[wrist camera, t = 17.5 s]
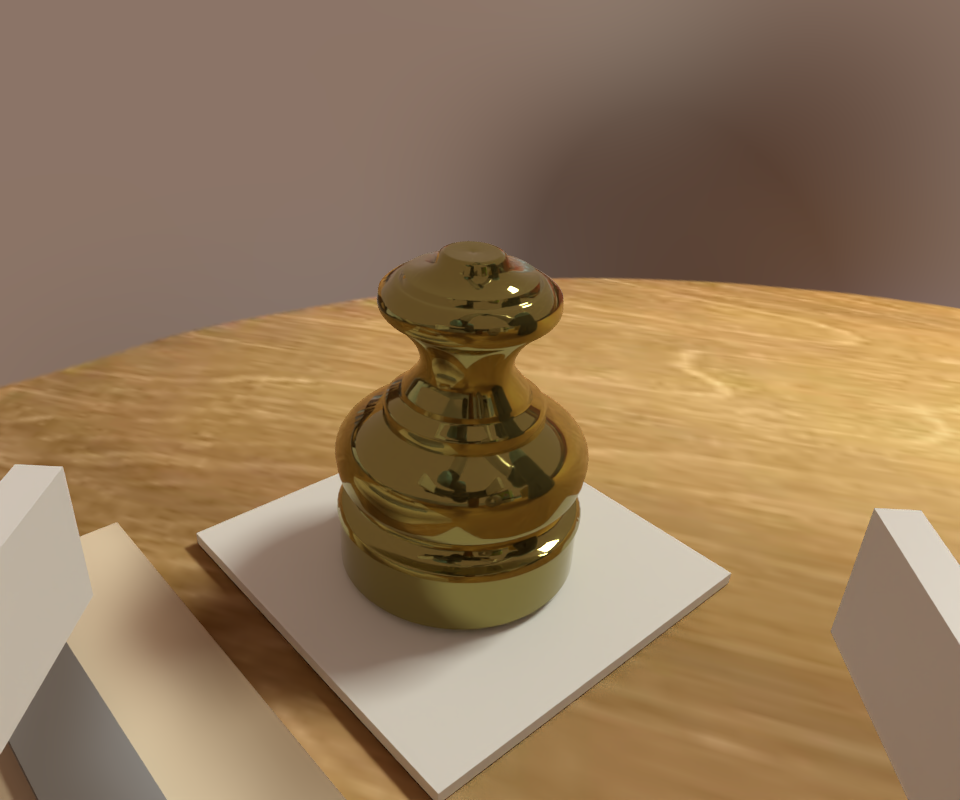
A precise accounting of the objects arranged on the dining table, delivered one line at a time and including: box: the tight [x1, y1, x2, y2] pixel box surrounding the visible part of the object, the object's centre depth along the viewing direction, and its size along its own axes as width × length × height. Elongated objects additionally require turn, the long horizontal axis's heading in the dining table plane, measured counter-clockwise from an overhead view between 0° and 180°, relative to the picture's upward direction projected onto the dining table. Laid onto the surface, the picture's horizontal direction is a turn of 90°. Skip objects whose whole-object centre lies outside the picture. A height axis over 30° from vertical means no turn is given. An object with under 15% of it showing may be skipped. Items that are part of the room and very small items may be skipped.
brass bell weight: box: [335, 241, 589, 630], centre depth 25 cm, size 7×7×10 cm
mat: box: [196, 473, 731, 800], centre depth 27 cm, size 12×12×1 cm
